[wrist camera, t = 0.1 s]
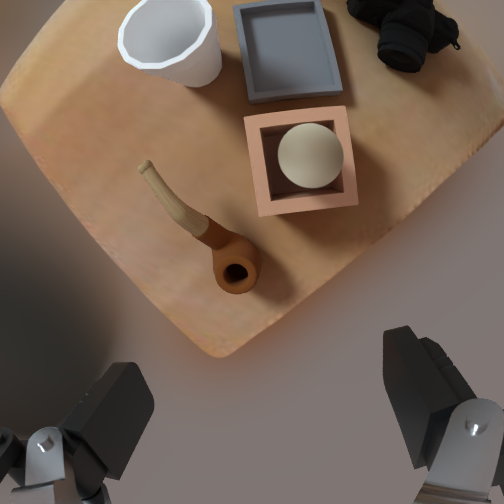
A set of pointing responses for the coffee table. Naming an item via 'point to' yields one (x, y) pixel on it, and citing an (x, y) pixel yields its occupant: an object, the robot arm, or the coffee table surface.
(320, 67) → the tray
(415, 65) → the film camera
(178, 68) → the foam cup
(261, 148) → the deep box
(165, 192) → the smoking pipe
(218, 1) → the coffee table surface
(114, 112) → the coffee table surface
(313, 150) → the maple dowel
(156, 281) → the coffee table surface
